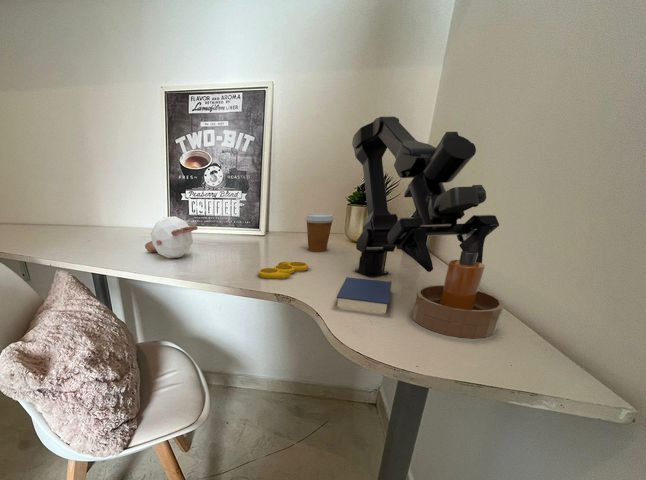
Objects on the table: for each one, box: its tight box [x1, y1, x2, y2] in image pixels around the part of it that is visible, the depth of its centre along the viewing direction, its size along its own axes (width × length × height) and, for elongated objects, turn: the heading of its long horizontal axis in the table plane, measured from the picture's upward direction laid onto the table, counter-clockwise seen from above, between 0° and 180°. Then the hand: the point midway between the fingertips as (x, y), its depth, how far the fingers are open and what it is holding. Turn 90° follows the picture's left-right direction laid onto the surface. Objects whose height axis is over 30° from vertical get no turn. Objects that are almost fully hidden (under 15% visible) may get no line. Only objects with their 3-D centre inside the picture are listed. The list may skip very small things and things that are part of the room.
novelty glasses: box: [258, 261, 309, 280], centre depth 94 cm, size 17×2×10 cm
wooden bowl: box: [411, 284, 505, 339], centre depth 61 cm, size 13×13×6 cm
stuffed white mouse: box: [144, 216, 198, 259], centre depth 110 cm, size 14×25×14 cm, turn 51°
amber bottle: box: [440, 251, 486, 310], centre depth 59 cm, size 5×5×13 cm
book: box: [336, 276, 392, 314], centre depth 73 cm, size 14×10×3 cm
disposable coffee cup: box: [305, 213, 334, 253], centre depth 116 cm, size 10×10×12 cm
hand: (454, 269), depth 60 cm, fingers open, 9 cm apart
